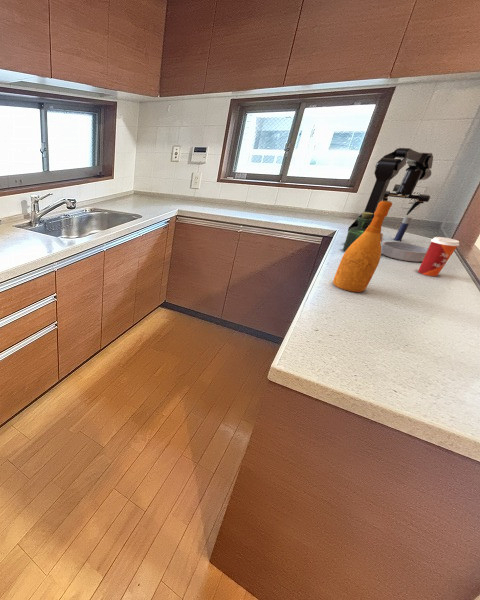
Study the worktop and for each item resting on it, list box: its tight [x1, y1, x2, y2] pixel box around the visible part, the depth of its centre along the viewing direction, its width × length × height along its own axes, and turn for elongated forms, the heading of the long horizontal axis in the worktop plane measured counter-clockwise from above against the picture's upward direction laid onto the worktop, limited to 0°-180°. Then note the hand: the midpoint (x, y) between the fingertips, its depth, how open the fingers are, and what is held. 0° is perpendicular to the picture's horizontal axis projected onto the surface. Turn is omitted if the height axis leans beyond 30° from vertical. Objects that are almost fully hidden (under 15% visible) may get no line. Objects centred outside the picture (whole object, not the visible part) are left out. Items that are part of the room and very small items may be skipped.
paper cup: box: [417, 236, 460, 277], centre depth 126 cm, size 8×8×14 cm
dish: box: [381, 240, 428, 263], centre depth 146 cm, size 16×16×4 cm
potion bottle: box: [342, 211, 373, 253], centre depth 147 cm, size 8×8×18 cm
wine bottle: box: [332, 200, 393, 293], centre depth 108 cm, size 10×10×30 cm
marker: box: [393, 216, 413, 242], centre depth 168 cm, size 3×3×12 cm
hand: (394, 213), depth 164 cm, fingers open, 9 cm apart
